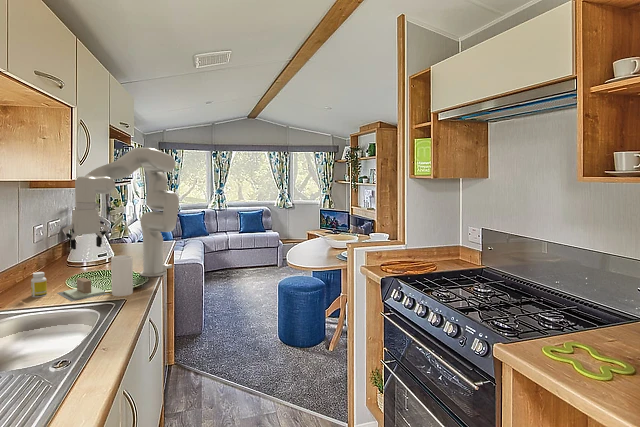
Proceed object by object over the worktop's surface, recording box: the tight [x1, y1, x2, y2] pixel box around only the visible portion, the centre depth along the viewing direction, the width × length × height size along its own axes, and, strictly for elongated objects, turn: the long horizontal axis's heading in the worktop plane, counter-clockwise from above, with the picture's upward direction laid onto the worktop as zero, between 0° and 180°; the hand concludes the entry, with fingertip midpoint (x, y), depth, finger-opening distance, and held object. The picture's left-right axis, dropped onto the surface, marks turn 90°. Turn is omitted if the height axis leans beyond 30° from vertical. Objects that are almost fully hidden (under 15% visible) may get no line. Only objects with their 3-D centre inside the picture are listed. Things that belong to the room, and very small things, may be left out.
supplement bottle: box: [30, 271, 48, 298], centre depth 182 cm, size 5×5×10 cm
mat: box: [56, 291, 112, 302], centre depth 187 cm, size 16×16×1 cm
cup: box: [110, 254, 134, 297], centre depth 188 cm, size 8×8×16 cm
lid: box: [62, 277, 105, 299], centre depth 187 cm, size 12×12×6 cm
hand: (86, 247), depth 183 cm, fingers open, 9 cm apart
